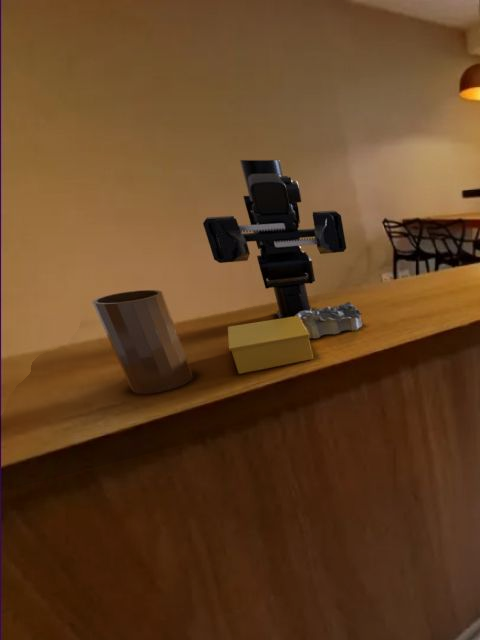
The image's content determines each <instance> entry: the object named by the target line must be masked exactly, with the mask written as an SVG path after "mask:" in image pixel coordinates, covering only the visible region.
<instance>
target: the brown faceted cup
mask: <svg viewBox="0 0 480 640" xmlns="http://www.w3.org/2000/svg"><path fill="white" fill-rule="evenodd" d="M91 302H92V305H93V307H94V309H95V311H96V312H95V313H96V314H97V316H98V318H99V320H100V323H101V325H102V327H103V330H104V333H105V334H106V336H107V339H108V341H109V343H110V345H111V347H112V350H113V352H114V354H115V357H116V360H117V361H118V364H119V365H120V368H121V370H122V373H123V374H124V377H125V379H126V382H127V383H128V386H129V388H130V389H131V391H132V392H133V393H135V394H139V395H148V394H149V395H150V394H157V393H162V392H167V391H170V390H173V389H177V388H180V387H181V386H184V385H185V384H186V385H187V384H188V383H189V382H191V380H192V379H193V378H194V376H193V371H192V369H191V366H190V363H189V361H188V358H187V355H186V352H185V350H184V347H183V344H182V342H181V339H180V337H179V333H178V331H177V328H176V325H175V323H174V320H173V318H172V314H171V311H170V310H169V306H168V303H167V301H166V298H165V295H164V293H163V291H161V290H159V289H158V290H157V289H144V290H143V289H142V290H132V291H131V290H130V291H123V292H117V293H112V294H108V295H104V296H100V297H98V298H95V299H94V300H93V301H91Z"/></svg>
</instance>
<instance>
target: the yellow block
mask: <svg viewBox="0 0 480 640" xmlns="http://www.w3.org/2000/svg"><path fill="white" fill-rule="evenodd" d="M309 337H310V335H309V333H308V331H307V329H306V328H305V326H304V324H303V322H302V321H301V319H300V317H299V316H294V317H288V318H281V319H279V318H276V319H269V320H268V319H267V320H262V321H256V322H250V323H244V324H238V325H237V324H236V325H230V326H227V339H228V340H227V341H228V351H229V352H231V355H232V357H233V361H234V364H235V366H236V370H237V373H238V375H240V374H245V373H251V372H255V371H260V370H265V369H270V368H275V367H280V366H286V365H290V364H296V363H301V362H305V361H306V362H307V361H310V360H314V355H313V349H312V347H311V343H310V338H309Z"/></svg>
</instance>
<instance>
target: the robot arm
mask: <svg viewBox="0 0 480 640" xmlns="http://www.w3.org/2000/svg"><path fill="white" fill-rule="evenodd" d="M239 162H240V167H241V169H242V173H243V178H244V181H245V186H246V189H247V192H248V195H243V200H244V205H245V208H246V212H247V216H248V219H249V223H250V224H243V225H242V224H241V225H239V223H238V220H237V218H235V217H234V215H225V216H224V215H223V216H207V217H206V218H205V220H204V221H203V223H202V224H203V228H204V232H205V234H206V237H207V242H208V244H209V248H210V250H211V254H212V258H213V260H214V261H216V262H217V263H219V264H225V263H226V264H227V263H236V262H237V263H238V262H248V260H249V258H250V255H251V253H250V248H249V245H248V242H255V243H256V247H257V249H258V250H259V252H260V255H259V254H257V255H256V259H257V262H258V265H259V270H260V273H261V278H262V280H263V284H264V288H265V289H266V290H267V289H273V293H274V296H275V301H276V305H277V308H278V310H277V309H276V314H277V316H278V319H281V318H288V317H294V316H295V315H296V314H297V313H299V312H300V311H315V310H314V309H313V307H312V306H311V305H310V301H309V296H308V291H307V287H306V285H308V284H309V285H310V284H311V285H312V284H314V283H315V282H316V277H315V273H314V267H313V260H312V258H311V257H310V256H309V255H308V254H307V251H304V250H303V249H302V247H301V246H314V245H316V249H317V250H318V252H319V254H320V255H327V254H336V253H344V252H345V250H346V249H347V243H346V238H345V237H346V236H345V231H344V226H343V219H342V214H340V213H339V212H337V211H336V210H320V211H318V210H317V211H312V220H313V228H305V229H303V228H302V229H299V228H300V224H301V219H300V218H301V217H300V212H299V205H298V203H302V195H301V191H300V186H299V182H298V181H297V180H292V177H290V176H288V175H284V173H283V169H282V168H283V167H282V164H281V160H280V159H240V160H239Z"/></svg>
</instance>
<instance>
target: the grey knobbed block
mask: <svg viewBox="0 0 480 640" xmlns="http://www.w3.org/2000/svg"><path fill="white" fill-rule="evenodd" d="M295 316H299V317H300V319H301V321H302V322H303V324H304V326H305V328H306V329H307V331H308V333H309V335H310V337H309V339H320V337H321V336H324V335H337V334H338V335H339V334H340V333H341V332H343V331H352V332H353V331H358V330H359V328H362V326H363V323H362V318H361V316H363V312H361V311H360V310H359V309H358V308H357V307H356V306H355V305H353V304H352V303H351V302H350V301H346V303H344V304H339V305H334V306H333V307H330V306H326V307H324V308H320V309H319V308H318V309H316V310H314V311H300V312H299V313H297V314H296V315H295Z"/></svg>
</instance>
